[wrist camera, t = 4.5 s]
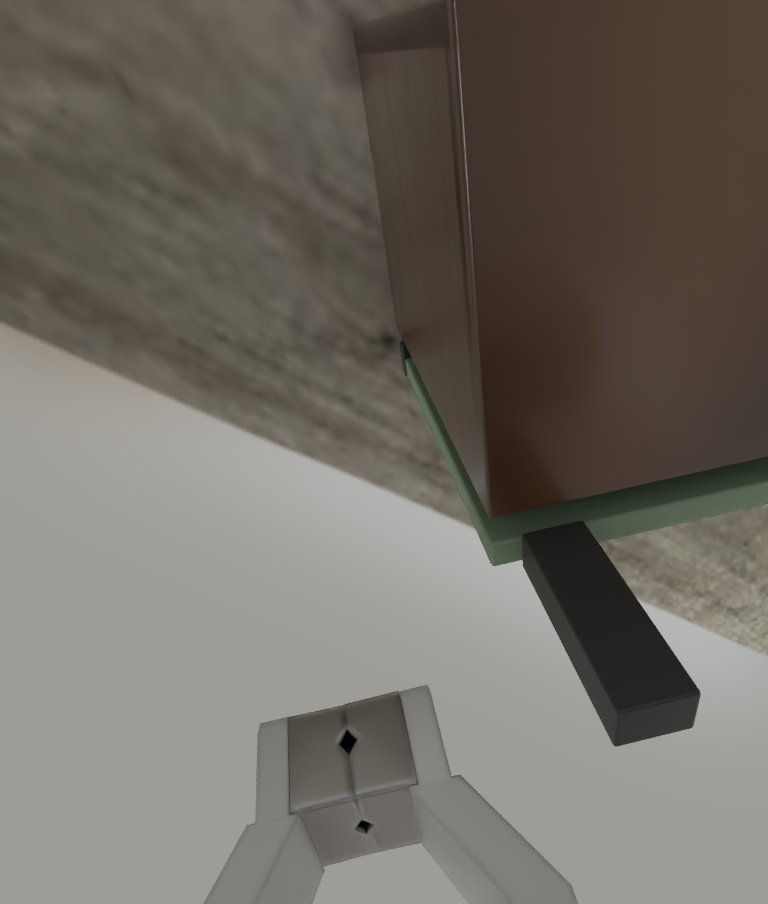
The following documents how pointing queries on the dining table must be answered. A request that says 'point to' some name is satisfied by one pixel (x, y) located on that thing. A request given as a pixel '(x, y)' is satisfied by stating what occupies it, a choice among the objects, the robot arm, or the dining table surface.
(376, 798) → the robot arm
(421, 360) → the cupboard
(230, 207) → the dining table surface
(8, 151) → the dining table surface
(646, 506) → the door
